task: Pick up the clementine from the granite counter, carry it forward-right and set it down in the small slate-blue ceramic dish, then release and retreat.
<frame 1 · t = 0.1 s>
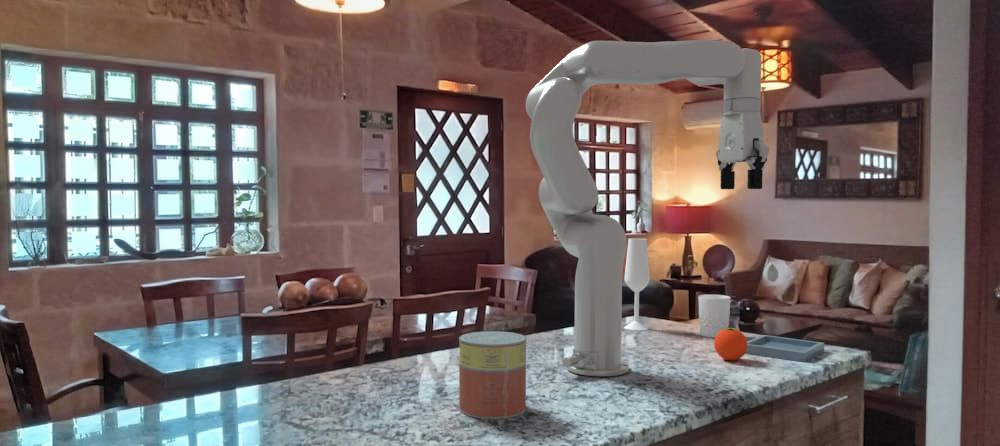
hand: (740, 189, 153), 37 cm above the kitchen island, tool pointing down, fingers open, 9 cm apart
champagne flute: (636, 328, 192), on the kitchen island
clementine: (730, 360, 156), on the kitchen island
dish: (782, 352, 163), on the kitchen island
white cup: (713, 336, 182), on the kitchen island
canned food: (492, 409, 120), on the kitchen island
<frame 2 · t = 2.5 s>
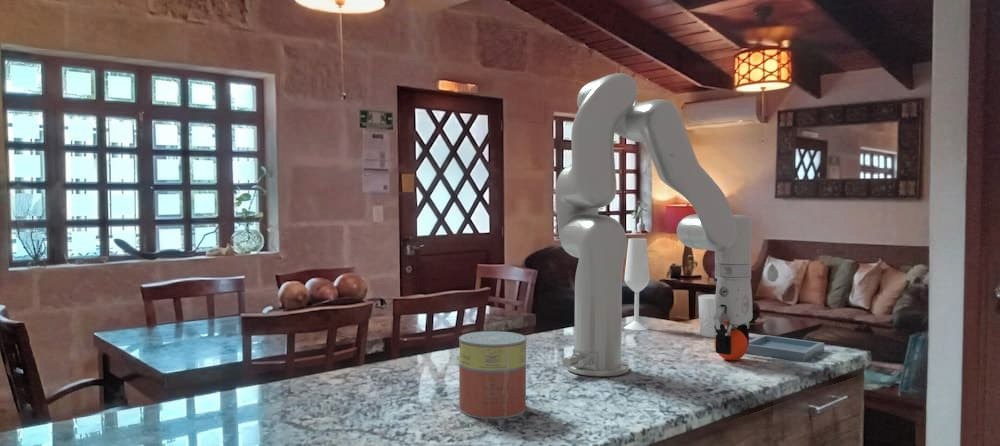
hand: (732, 349, 156), 2 cm above the kitchen island, tool pointing down, fingers open, 9 cm apart
nothing on the kitchen island moved.
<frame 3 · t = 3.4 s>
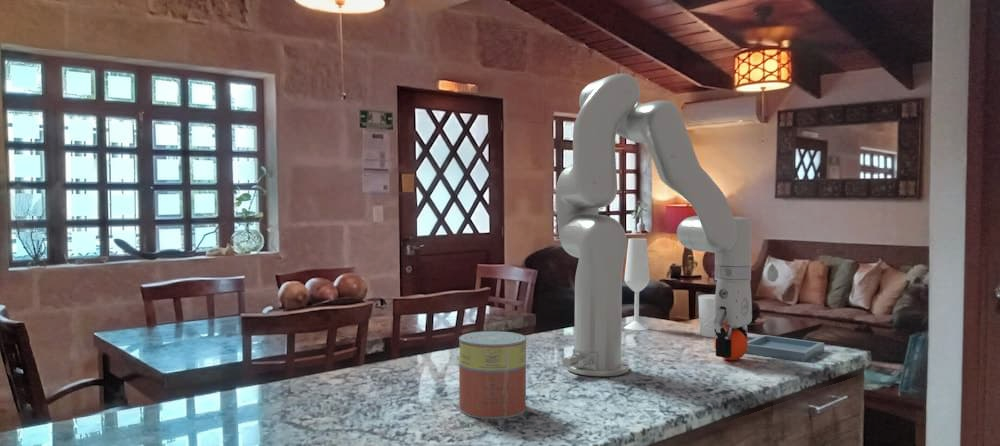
hand: (731, 353, 156), 1 cm above the kitchen island, tool pointing down, fingers closed on clementine, 8 cm apart
clementine: (731, 360, 156), on the kitchen island, touching gripper
everything else where it was.
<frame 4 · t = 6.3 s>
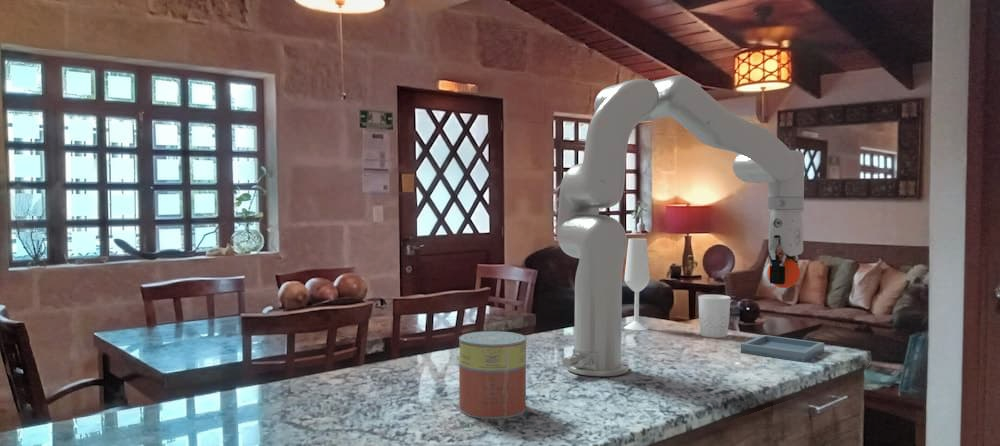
hand: (783, 281, 163), 16 cm above the kitchen island, tool pointing down, fingers closed on clementine, 8 cm apart
clementine: (783, 288, 163), point 15 cm above the kitchen island, touching gripper
everything else where it was.
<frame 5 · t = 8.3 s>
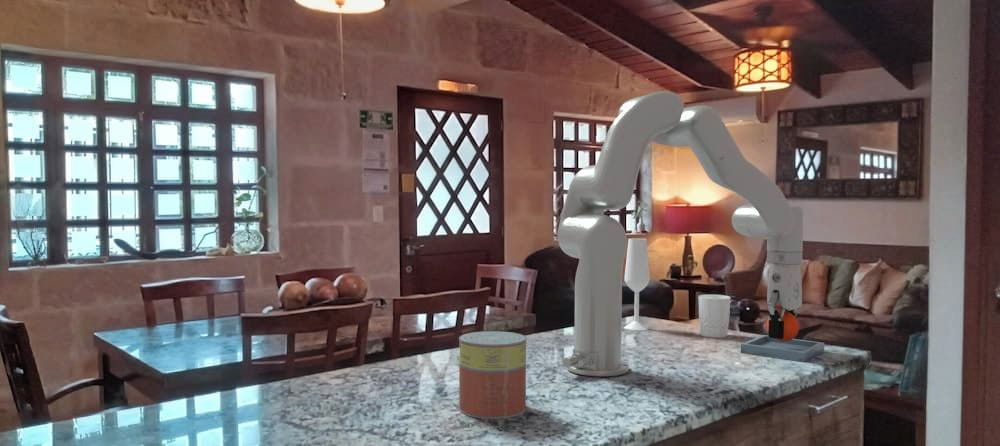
hand: (782, 335, 163), 4 cm above the kitchen island, tool pointing down, fingers closed on clementine, 8 cm apart
clementine: (782, 341, 163), point 2 cm above the kitchen island, touching gripper
everything else where it was.
when the fingers open (3 cm above the kitchen island, at t = 9.6 s): clementine stays where it is, resting on dish.
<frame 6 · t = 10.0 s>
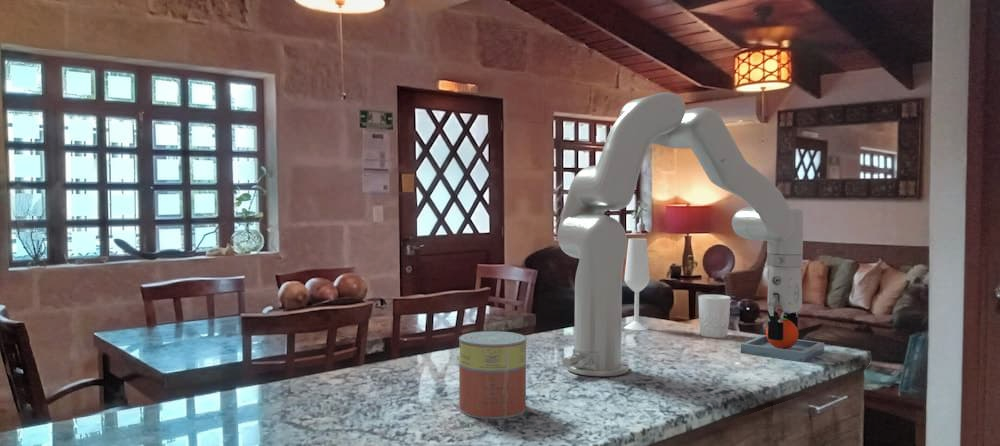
hand: (783, 336, 163), 4 cm above the kitchen island, tool pointing down, fingers open, 9 cm apart
clementine: (782, 349, 163), point 1 cm above the kitchen island, touching dish
everything else where it was.
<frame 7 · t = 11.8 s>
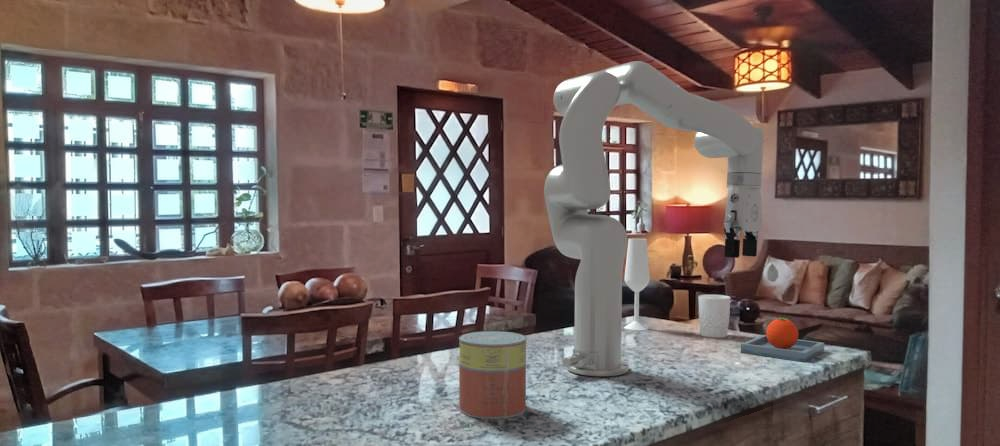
hand: (740, 256, 163), 22 cm above the kitchen island, tool pointing down, fingers open, 9 cm apart
nothing on the kitchen island moved.
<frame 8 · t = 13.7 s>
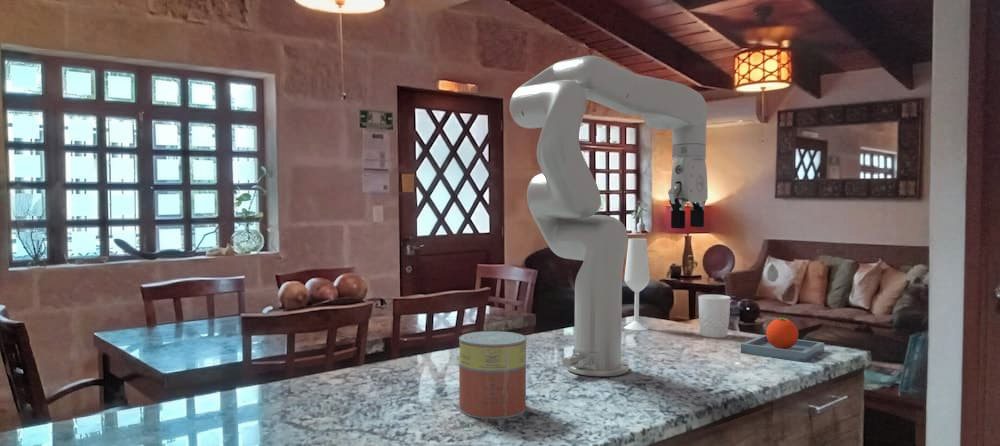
hand: (687, 227, 165), 28 cm above the kitchen island, tool pointing down, fingers open, 9 cm apart
nothing on the kitchen island moved.
at the end: clementine inside the target area on the dish (0.1 cm from its centre), point 0.6 cm above the dish's base; the gripper is holding nothing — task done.
